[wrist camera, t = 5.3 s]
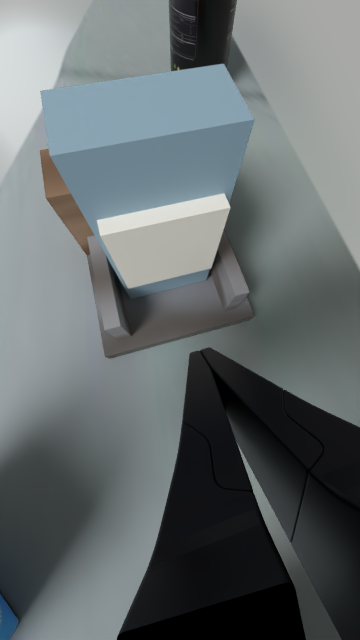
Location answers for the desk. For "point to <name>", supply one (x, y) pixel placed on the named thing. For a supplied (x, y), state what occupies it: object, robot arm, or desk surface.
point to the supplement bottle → (200, 32)
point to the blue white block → (152, 168)
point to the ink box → (6, 620)
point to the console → (158, 308)
